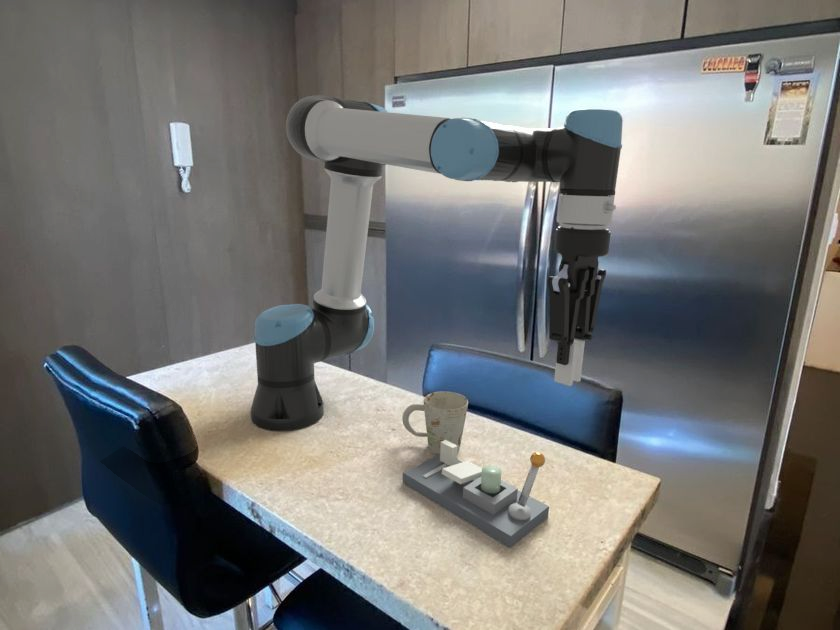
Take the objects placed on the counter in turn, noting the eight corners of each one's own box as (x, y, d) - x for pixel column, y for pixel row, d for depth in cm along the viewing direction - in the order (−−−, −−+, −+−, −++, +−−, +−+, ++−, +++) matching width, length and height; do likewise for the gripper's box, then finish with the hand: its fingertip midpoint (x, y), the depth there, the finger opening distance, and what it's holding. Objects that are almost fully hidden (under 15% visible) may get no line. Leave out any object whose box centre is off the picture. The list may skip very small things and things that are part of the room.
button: (476, 487, 80) (478, 470, 80) (488, 480, 82) (489, 463, 82) (492, 496, 78) (493, 478, 78) (504, 488, 80) (505, 471, 80)
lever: (511, 501, 77) (530, 448, 78) (518, 502, 78) (537, 451, 79) (523, 507, 75) (543, 454, 76) (530, 508, 77) (549, 456, 78)
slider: (439, 460, 90) (440, 442, 90) (444, 458, 91) (445, 439, 90) (451, 467, 89) (452, 448, 88) (456, 464, 89) (457, 445, 88)
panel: (402, 483, 88) (403, 463, 87) (442, 461, 95) (443, 443, 94) (509, 548, 73) (511, 525, 72) (548, 517, 80) (550, 495, 79)
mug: (462, 462, 95) (465, 411, 92) (396, 453, 97) (396, 404, 95) (467, 440, 103) (470, 393, 100) (406, 433, 105) (407, 387, 103)
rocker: (441, 473, 83) (442, 468, 83) (466, 465, 88) (467, 460, 88) (460, 484, 81) (461, 478, 80) (485, 475, 85) (486, 470, 85)
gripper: (582, 231, 66) (564, 402, 72) (631, 226, 76) (612, 375, 82) (531, 226, 71) (519, 386, 77) (584, 222, 81) (569, 363, 87)
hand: (567, 380), depth 80 cm, fingers open, 2 cm apart
